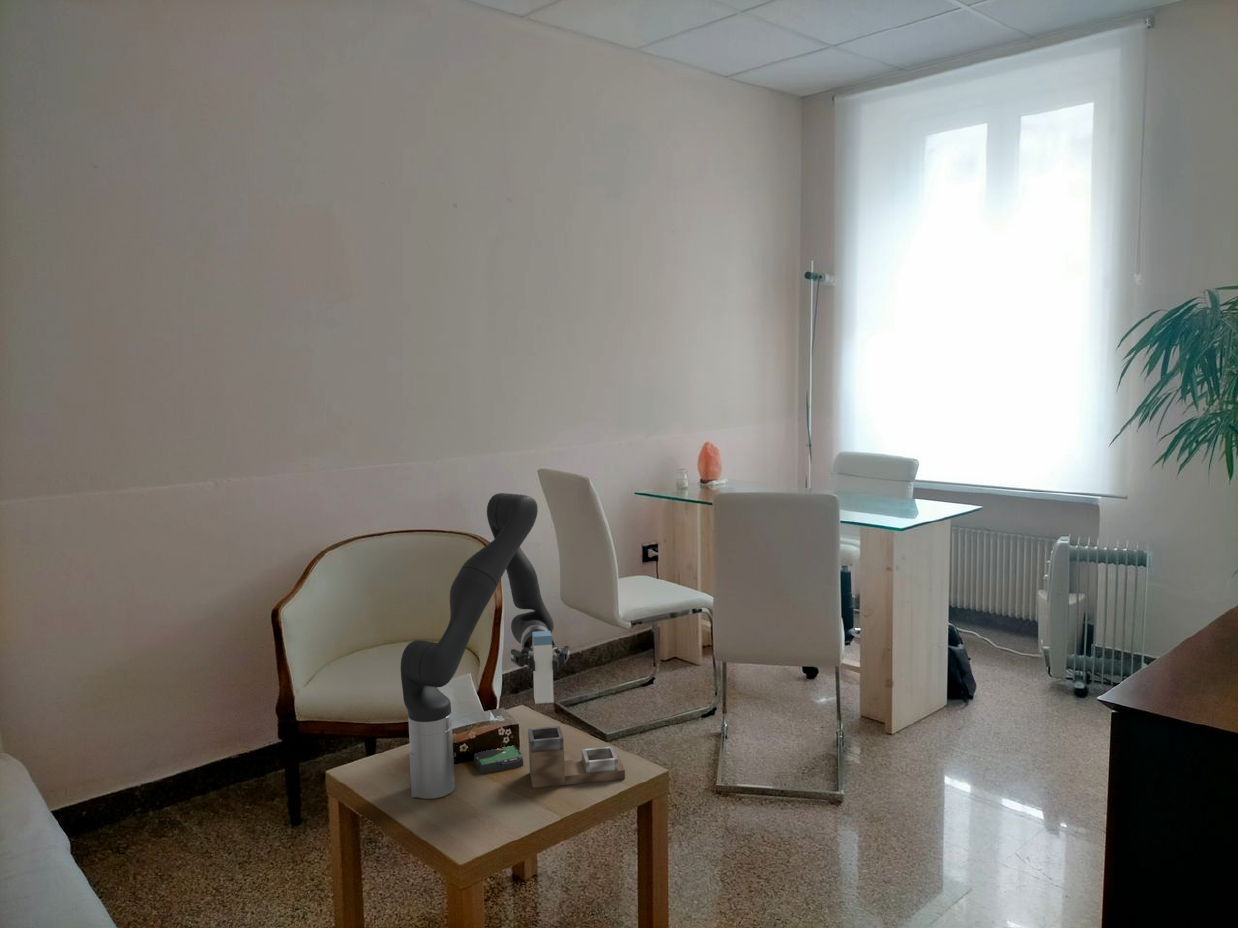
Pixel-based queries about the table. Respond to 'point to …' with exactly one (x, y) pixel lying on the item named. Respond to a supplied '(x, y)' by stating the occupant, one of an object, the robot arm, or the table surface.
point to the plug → (543, 667)
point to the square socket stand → (568, 761)
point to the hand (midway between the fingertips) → (543, 666)
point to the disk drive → (498, 759)
